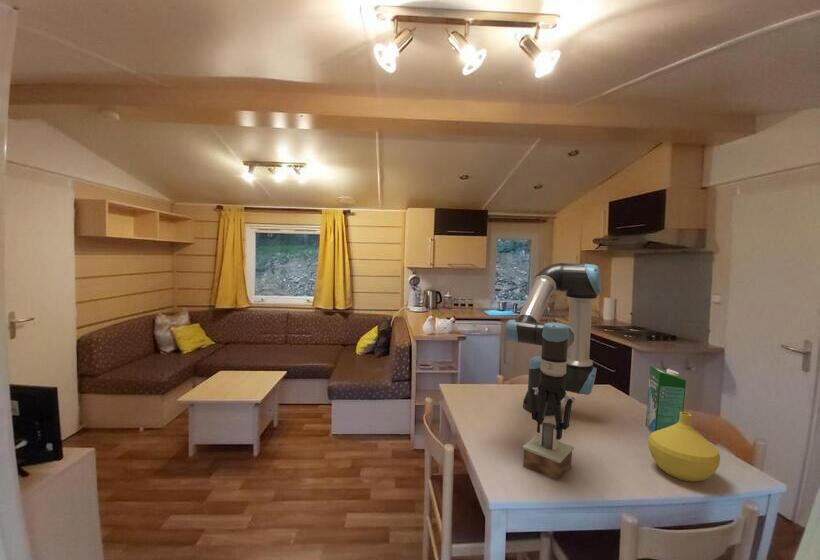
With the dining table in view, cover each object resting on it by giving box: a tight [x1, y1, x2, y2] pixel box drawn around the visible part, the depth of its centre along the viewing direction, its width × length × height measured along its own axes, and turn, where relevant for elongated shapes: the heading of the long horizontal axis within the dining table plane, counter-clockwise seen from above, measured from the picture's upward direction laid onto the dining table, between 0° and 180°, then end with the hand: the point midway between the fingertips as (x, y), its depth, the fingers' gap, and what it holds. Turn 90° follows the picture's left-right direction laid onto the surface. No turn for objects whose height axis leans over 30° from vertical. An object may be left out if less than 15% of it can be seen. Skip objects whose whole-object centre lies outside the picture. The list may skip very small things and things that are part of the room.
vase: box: [648, 411, 721, 483], centre depth 120 cm, size 18×18×19 cm
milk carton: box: [645, 365, 687, 433], centre depth 148 cm, size 9×9×25 cm
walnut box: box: [522, 449, 573, 481], centre depth 120 cm, size 11×11×6 cm
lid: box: [522, 422, 575, 463], centre depth 120 cm, size 12×12×9 cm
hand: (548, 445), depth 120 cm, fingers closed on lid, 4 cm apart
